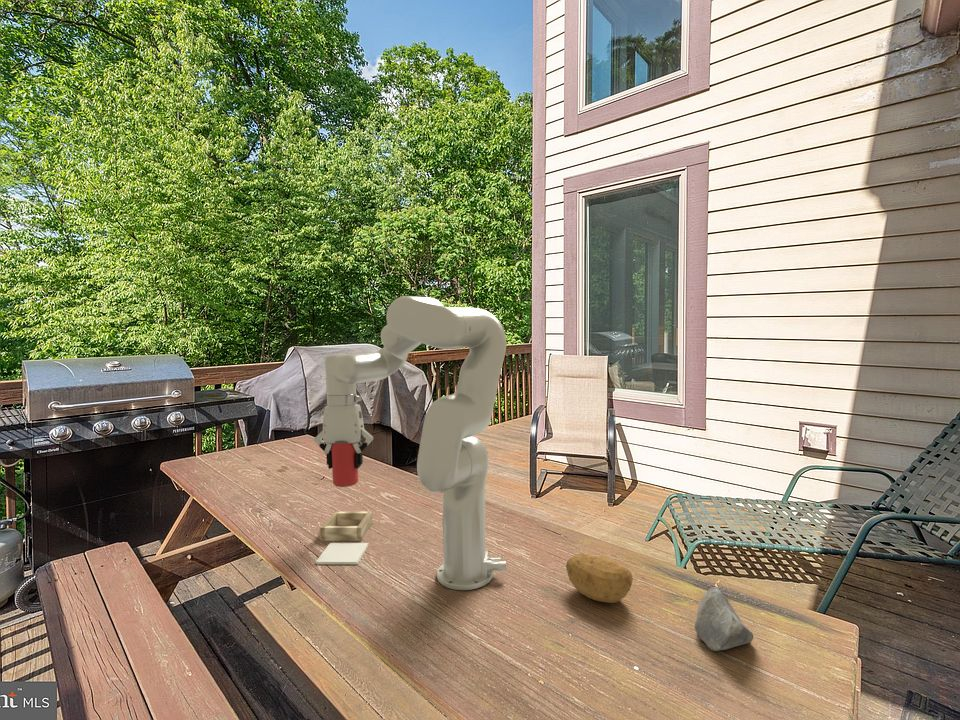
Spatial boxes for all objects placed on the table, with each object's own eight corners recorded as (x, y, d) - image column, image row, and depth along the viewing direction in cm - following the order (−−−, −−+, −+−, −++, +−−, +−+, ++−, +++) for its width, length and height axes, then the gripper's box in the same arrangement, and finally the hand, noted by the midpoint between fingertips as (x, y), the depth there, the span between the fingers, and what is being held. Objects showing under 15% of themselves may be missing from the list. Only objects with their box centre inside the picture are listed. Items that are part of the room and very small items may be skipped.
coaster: (368, 545, 124) (368, 542, 124) (357, 564, 114) (357, 561, 114) (330, 545, 125) (330, 542, 125) (315, 564, 115) (315, 561, 115)
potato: (580, 575, 108) (580, 541, 107) (640, 599, 98) (641, 561, 98) (555, 594, 101) (555, 557, 100) (618, 621, 91) (618, 580, 90)
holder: (372, 523, 138) (372, 511, 138) (361, 540, 127) (361, 527, 127) (334, 523, 138) (334, 511, 138) (320, 540, 127) (320, 527, 127)
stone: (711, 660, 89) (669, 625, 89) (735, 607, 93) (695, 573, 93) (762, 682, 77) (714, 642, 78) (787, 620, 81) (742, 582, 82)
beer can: (351, 488, 125) (349, 442, 124) (328, 487, 126) (326, 442, 126) (362, 480, 131) (360, 437, 131) (340, 479, 133) (338, 436, 132)
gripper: (377, 397, 131) (380, 462, 132) (315, 399, 132) (318, 463, 133) (370, 402, 123) (373, 471, 124) (303, 403, 124) (307, 471, 125)
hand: (345, 466), depth 129 cm, fingers closed on beer can, 6 cm apart
